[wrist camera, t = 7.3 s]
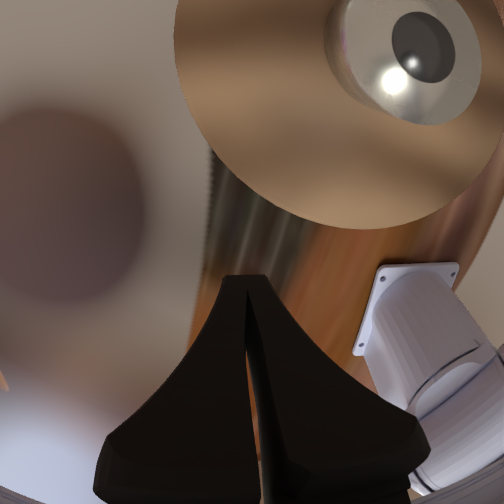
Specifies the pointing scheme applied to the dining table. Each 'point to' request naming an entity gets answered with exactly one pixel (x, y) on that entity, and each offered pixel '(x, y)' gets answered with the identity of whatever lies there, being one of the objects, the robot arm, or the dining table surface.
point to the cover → (405, 57)
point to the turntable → (326, 115)
